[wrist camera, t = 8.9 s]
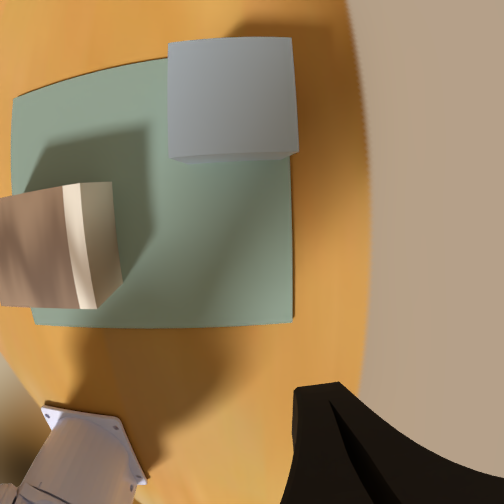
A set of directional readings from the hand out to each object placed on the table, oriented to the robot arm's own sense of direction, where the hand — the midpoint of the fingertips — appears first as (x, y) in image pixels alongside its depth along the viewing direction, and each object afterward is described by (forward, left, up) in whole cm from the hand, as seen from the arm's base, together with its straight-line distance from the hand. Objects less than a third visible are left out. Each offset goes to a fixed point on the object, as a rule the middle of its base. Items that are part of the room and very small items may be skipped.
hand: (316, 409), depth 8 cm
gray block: (+10, +2, -10) cm, 14 cm away
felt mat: (+6, +8, -10) cm, 14 cm away
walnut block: (+4, +9, -8) cm, 13 cm away
